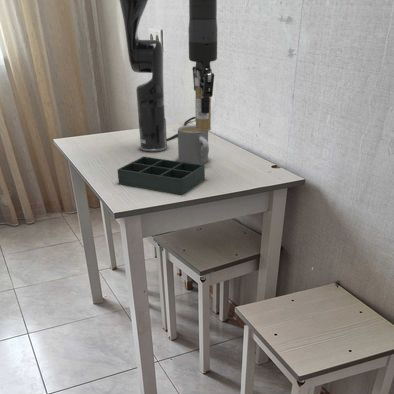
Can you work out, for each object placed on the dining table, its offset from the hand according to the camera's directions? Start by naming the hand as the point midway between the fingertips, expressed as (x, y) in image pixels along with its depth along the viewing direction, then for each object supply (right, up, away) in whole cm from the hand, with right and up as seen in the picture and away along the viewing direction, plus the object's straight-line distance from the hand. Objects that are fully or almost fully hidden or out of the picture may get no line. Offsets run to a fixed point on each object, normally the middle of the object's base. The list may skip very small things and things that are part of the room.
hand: (203, 110), depth 135 cm
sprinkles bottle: (0, -4, +3) cm, 5 cm away
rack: (-12, -17, +9) cm, 23 cm away
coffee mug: (-2, -5, +25) cm, 26 cm away
